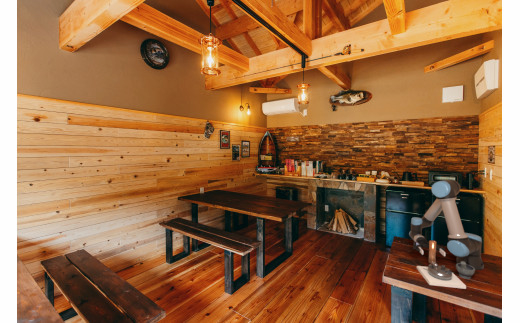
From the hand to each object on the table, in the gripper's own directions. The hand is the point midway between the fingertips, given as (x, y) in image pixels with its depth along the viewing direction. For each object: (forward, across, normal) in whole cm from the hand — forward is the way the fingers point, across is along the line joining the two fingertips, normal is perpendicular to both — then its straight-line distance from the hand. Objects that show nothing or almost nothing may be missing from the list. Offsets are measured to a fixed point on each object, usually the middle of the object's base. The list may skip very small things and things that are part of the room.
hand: (433, 253), depth 165 cm
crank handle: (+5, 0, -11) cm, 12 cm away
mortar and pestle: (+4, -17, -13) cm, 22 cm away
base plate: (+8, 0, -13) cm, 16 cm away
